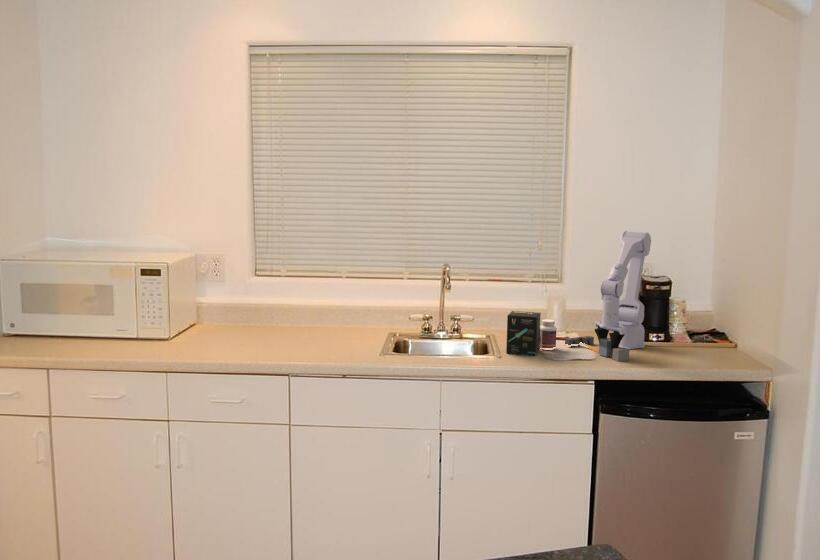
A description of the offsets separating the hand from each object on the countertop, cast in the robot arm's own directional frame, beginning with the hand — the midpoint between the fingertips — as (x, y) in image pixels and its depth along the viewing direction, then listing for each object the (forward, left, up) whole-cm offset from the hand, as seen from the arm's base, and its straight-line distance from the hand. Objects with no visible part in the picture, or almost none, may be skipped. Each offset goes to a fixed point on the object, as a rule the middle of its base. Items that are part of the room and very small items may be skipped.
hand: (608, 349), depth 261 cm
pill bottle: (+15, -16, -2) cm, 22 cm away
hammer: (0, -5, -2) cm, 5 cm away
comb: (0, -16, -2) cm, 17 cm away
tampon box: (+26, -16, -2) cm, 31 cm away
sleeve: (0, 0, -2) cm, 2 cm away
